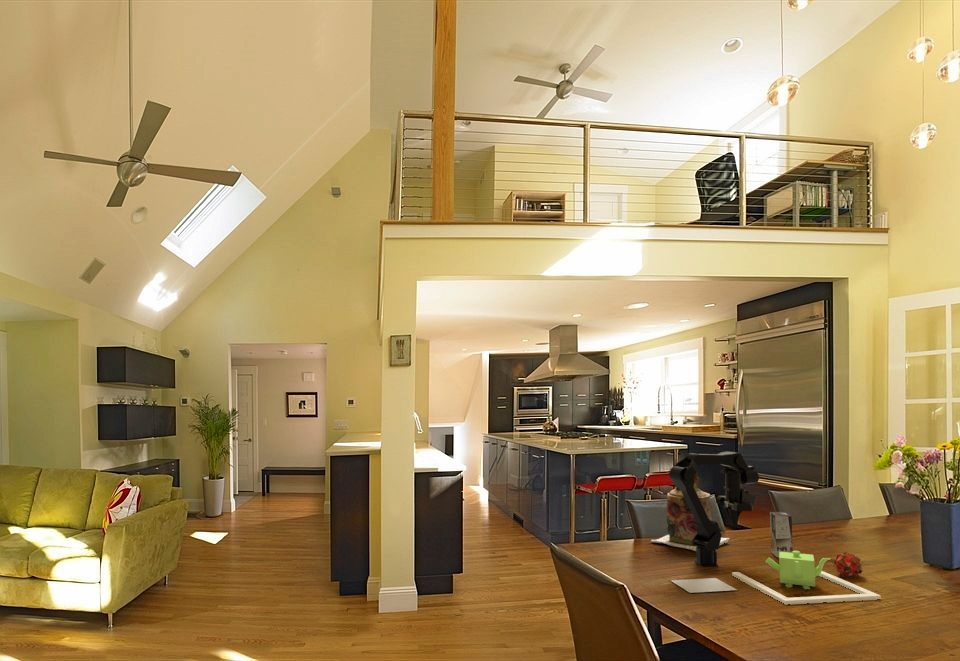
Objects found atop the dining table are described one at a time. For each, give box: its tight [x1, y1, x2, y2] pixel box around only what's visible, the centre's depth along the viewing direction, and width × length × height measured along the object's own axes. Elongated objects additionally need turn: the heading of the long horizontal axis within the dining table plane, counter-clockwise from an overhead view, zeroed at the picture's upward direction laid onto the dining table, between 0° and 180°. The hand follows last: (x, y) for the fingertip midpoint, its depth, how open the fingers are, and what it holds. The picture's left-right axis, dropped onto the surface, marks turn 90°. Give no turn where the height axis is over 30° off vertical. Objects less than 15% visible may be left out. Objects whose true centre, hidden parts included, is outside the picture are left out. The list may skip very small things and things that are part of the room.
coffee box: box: [769, 511, 794, 558], centre depth 264 cm, size 9×6×16 cm
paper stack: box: [670, 577, 738, 594], centre depth 218 cm, size 23×25×1 cm
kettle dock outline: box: [731, 570, 882, 606], centre depth 222 cm, size 32×31×1 cm
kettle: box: [765, 550, 831, 590], centre depth 224 cm, size 15×14×11 cm
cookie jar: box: [650, 471, 730, 552], centre depth 284 cm, size 25×25×32 cm
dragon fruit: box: [833, 551, 863, 578], centre depth 235 cm, size 8×8×12 cm
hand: (734, 526), depth 256 cm, fingers closed
